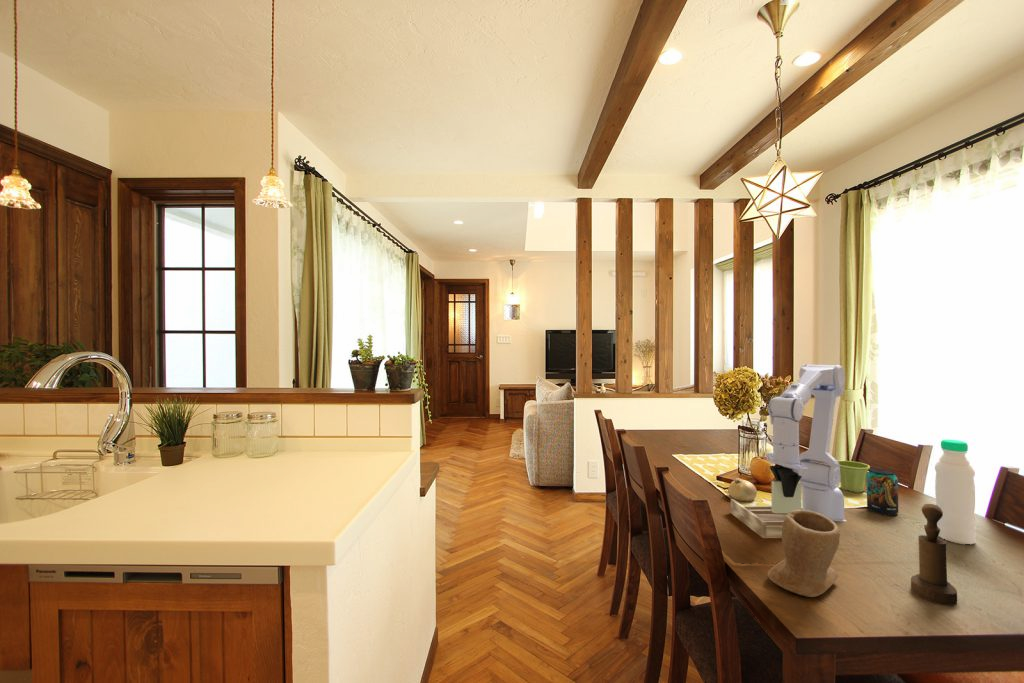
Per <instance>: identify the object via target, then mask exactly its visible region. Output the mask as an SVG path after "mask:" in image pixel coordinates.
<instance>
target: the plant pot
mask: <svg viewBox="0 0 1024 683" xmlns="http://www.w3.org/2000/svg"><path fill="white" fill-rule="evenodd" d="M837 461H838V462H839V464H840V475H841V478H840V484H839V485H840V488H841V489H842V490H844V489H845V490H844V491H850V492H852V491H853V492H852V493H862V492H864V491H865V487H866V481H867V474H868V473H869V469H871V468H870V467H871V466H870V465H869V464H867V463H863V462H858V461H851V460H837Z"/></svg>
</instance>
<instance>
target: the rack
mask: <svg viewBox="0 0 1024 683" xmlns="http://www.w3.org/2000/svg"><path fill="white" fill-rule="evenodd" d="M801 510H803V509H802V508H801ZM730 514H731V515H732V516H734V517H735V518H736V519H738V520H739V521H740V522H742V524H744V525H745V526H747V527H748V528H749V529H750V530H751V531H753V532H754V533H755V534H757V535H758V536H760V537H761V539H782V527H783V522H784V521H763V520H762V519H761V518H759V517H758V516H756V515H755V514H785V515H787V514H788V513H773V512H772V505H742V504H741V503H739V501H738V500H736V499H733V498H730Z"/></svg>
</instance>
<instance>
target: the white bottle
mask: <svg viewBox="0 0 1024 683" xmlns="http://www.w3.org/2000/svg"><path fill="white" fill-rule="evenodd" d="M940 448H941V450H942V451H943V453H942V455H941V456H940V457H939V460H938V461H937V462H936V463H935V466H934V470H935V481H934V482H935V487H934V489H935V492H934V493H935V494H934V495H935V503H936V504H935V505H937V506H939V507H940V508H941V510H942V512H943V516H942V518H941V519H940V520H939V521H938V522H937V526H938V528H940V532H939V535H938V538H939V537H940V539H943V540H944V539H945V540H944V541H946V542H950V543H955V544H958V543H959V545H965V544H970V545H974V544H976V542H977V534H976V533H977V532H976V522H977V521H976V515H975V510H976V487H975V486H976V485H975V479H974V477H975V474H976V472H975V470H974V468H973V466H972V465H971V463H970V460H968V458H967V457H966V454H967V453H968V450H969V445H968V443H967V442H965V441H962V440H956V439H941V441H940Z"/></svg>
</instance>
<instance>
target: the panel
mask: <svg viewBox="0 0 1024 683" xmlns="http://www.w3.org/2000/svg"><path fill="white" fill-rule="evenodd" d="M771 506H772V512H773V513H789V512H791V511H793V510H801V509H802V483H801V482H800V481H799V482H798V484H797V487H796V490H795V493H794V496H793V497H784V494H783V489H782V482H781V481H776V480H771Z"/></svg>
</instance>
